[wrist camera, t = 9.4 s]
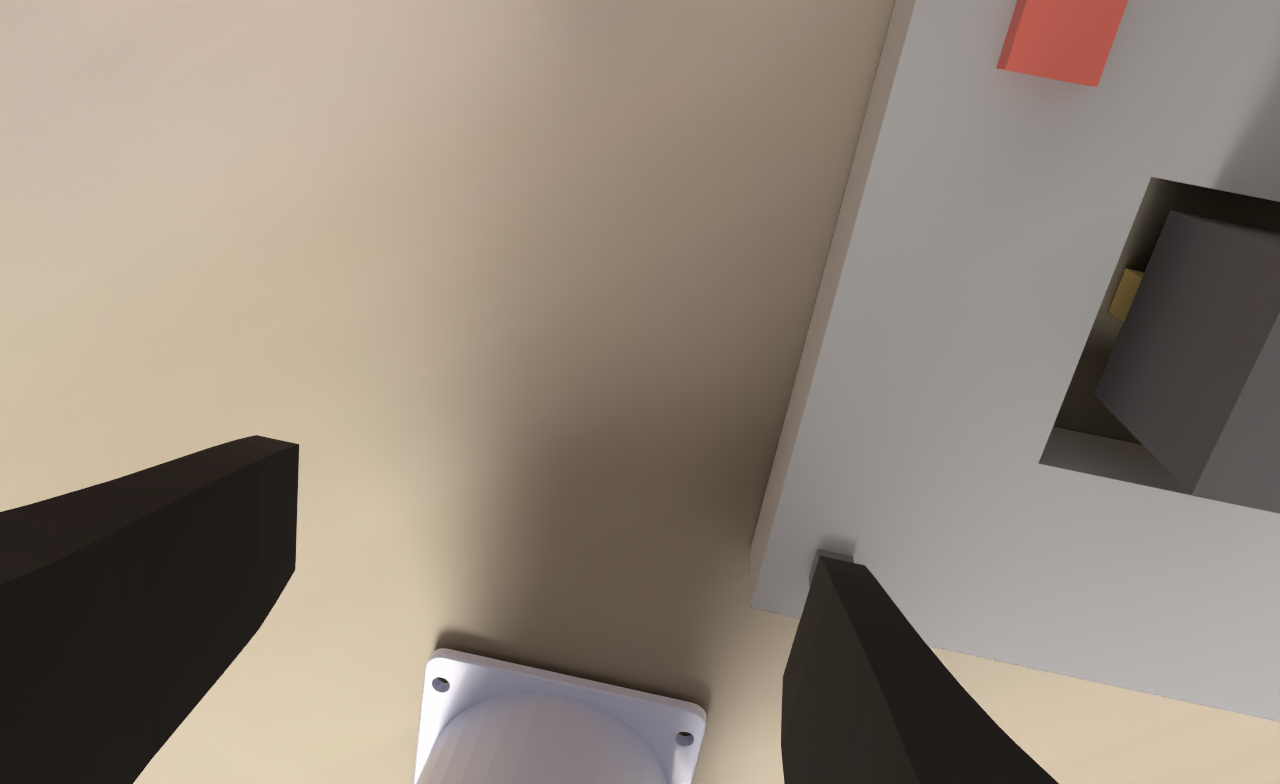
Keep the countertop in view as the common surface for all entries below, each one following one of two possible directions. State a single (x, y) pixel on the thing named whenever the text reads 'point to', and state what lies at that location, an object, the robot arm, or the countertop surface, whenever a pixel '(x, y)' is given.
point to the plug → (1203, 358)
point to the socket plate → (1026, 348)
